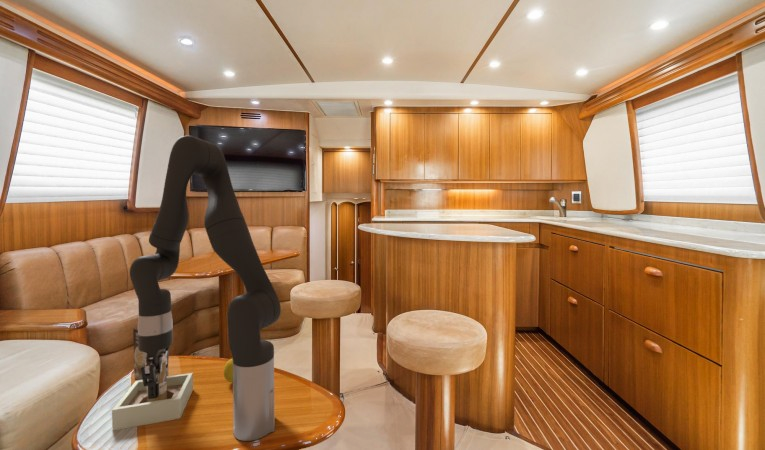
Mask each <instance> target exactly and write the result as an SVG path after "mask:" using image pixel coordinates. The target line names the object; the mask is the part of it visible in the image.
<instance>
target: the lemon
mask: <svg viewBox="0 0 765 450" xmlns="http://www.w3.org/2000/svg"><path fill="white" fill-rule="evenodd" d="M223 376H224V378H225V380H226V381H227V382H228V383H232V384H233V357H232V358H229V359H228V360H227V361H226V363H225V364H224V368H223Z"/></svg>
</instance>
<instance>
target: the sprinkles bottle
mask: <svg viewBox="0 0 765 450" xmlns="http://www.w3.org/2000/svg"><path fill="white" fill-rule="evenodd" d="M161 355H164V361H163V362H162V372H161V373H160V375H159V396H158V397H157V398H153V399H149V398H148V386H146V388H147V402H153V401H159V400H165V399H167V396H166V394H167V393H166V390H167V383H166V353H162V354H161ZM145 365H146V364H145ZM155 371H158V369H155ZM150 380H152V379H150Z"/></svg>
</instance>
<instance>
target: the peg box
mask: <svg viewBox="0 0 765 450" xmlns="http://www.w3.org/2000/svg"><path fill="white" fill-rule="evenodd" d="M166 383H167V390H166V393H167V394H166V396H167V399H165V400H159V401H153V402H147V388H146V386H144V385H143V380H138V379H137V380H135V381H134V383H133V384H132V385H131V386H130V388H129V389H128V390H127V391H126V393H124V395H123V396H122V397H121V399H120V400H119V401H118V402H117V403H116V404H115V406H114V407H113V408H112V410H111V418H112V419H111V421H112V431H118V430H125V429H128V428H129V429H130V428H135V427H140V426H145V425H151V424H156V423H162V422H167V421H173V420H179V419H181V418H182V415H183V413H184V410H185V408H186V406H187V404H188V402H189V399H190V398H191V395H192V393H193V390H194V372H188V373H181V374H174V375H168V376H166Z"/></svg>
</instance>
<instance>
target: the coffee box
mask: <svg viewBox="0 0 765 450" xmlns="http://www.w3.org/2000/svg"><path fill="white" fill-rule="evenodd" d="M132 329H133V331H132V332H133V334H132V335H133V338H132V339H133V376H134V379H137V381H138V380H143V379H142V373H141V367H142V366H146V365H145V357H147V353H145V352H141V351H139V349H138V326H136V327H133V328H132ZM166 376H169V367H168V368H166Z"/></svg>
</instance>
